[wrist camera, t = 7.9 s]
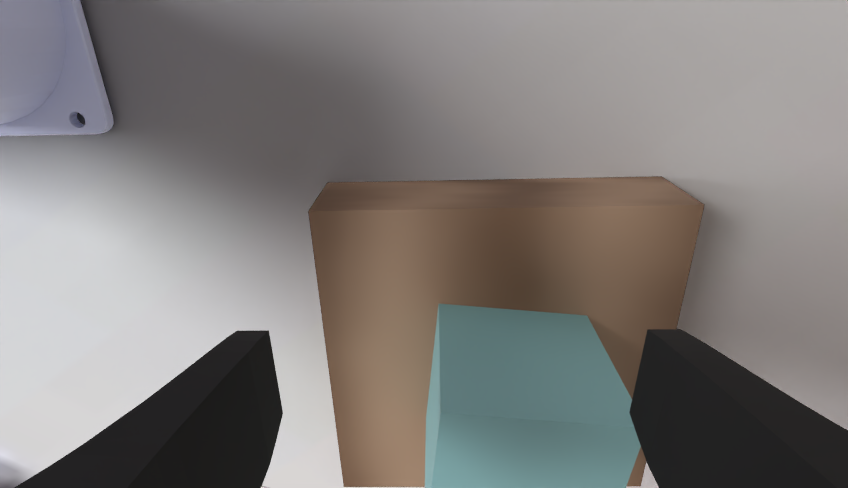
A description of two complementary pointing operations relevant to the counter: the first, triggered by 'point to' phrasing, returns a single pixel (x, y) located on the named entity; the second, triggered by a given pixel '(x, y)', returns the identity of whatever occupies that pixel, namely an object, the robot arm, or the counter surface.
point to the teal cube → (525, 403)
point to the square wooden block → (481, 286)
